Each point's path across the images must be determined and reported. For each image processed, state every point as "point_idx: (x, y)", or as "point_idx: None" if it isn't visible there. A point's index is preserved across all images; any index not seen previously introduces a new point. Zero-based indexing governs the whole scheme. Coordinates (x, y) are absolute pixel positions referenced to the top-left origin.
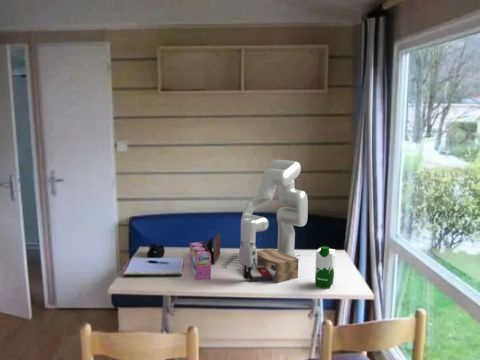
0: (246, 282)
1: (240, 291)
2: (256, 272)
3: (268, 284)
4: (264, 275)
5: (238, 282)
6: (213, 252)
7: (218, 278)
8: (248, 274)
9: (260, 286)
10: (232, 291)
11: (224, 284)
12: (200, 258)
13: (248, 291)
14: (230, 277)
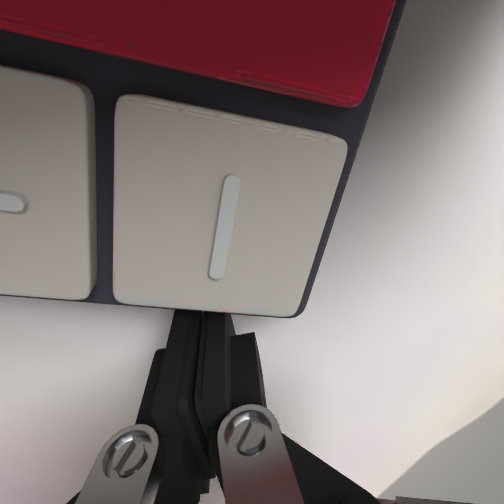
0: (261, 334)
1: (429, 441)
2: (153, 182)
3: (497, 90)
4: (374, 60)
5: None
6: None
7: (56, 501)
8: (263, 396)
9: (468, 242)
10: (389, 481)
11: (222, 493)
12: None
13: (478, 394)
14: (45, 422)
